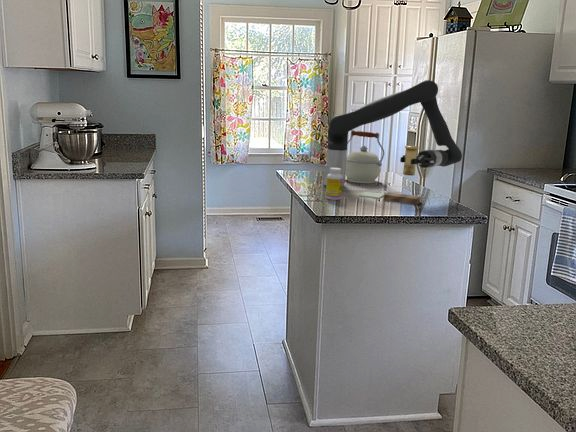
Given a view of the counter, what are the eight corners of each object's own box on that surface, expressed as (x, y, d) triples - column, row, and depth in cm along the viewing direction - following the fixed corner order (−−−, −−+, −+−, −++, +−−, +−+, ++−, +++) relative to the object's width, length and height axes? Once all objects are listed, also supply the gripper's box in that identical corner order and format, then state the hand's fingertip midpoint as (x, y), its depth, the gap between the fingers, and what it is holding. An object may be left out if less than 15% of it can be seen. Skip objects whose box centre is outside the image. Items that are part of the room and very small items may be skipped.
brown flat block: (383, 200, 238) (383, 194, 237) (387, 197, 245) (387, 192, 244) (417, 205, 232) (417, 199, 232) (420, 202, 239) (421, 196, 238)
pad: (359, 196, 244) (359, 194, 244) (364, 192, 252) (365, 191, 252) (379, 198, 241) (379, 197, 241) (384, 195, 249) (384, 194, 249)
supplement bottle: (340, 200, 232) (342, 170, 229) (324, 199, 233) (326, 168, 230) (342, 197, 239) (344, 168, 236) (326, 196, 240) (328, 166, 237)
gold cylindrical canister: (400, 174, 234) (403, 146, 231) (403, 172, 239) (406, 145, 236) (414, 176, 232) (417, 147, 229) (416, 174, 237) (420, 146, 234)
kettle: (388, 181, 286) (392, 132, 280) (373, 186, 270) (378, 134, 265) (344, 175, 298) (348, 128, 293) (327, 179, 283) (331, 129, 277)
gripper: (416, 147, 247) (393, 149, 236) (445, 152, 237) (422, 154, 226) (414, 164, 249) (391, 167, 238) (442, 169, 239) (420, 172, 228)
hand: (406, 160), depth 232 cm, fingers closed on gold cylindrical canister, 4 cm apart
